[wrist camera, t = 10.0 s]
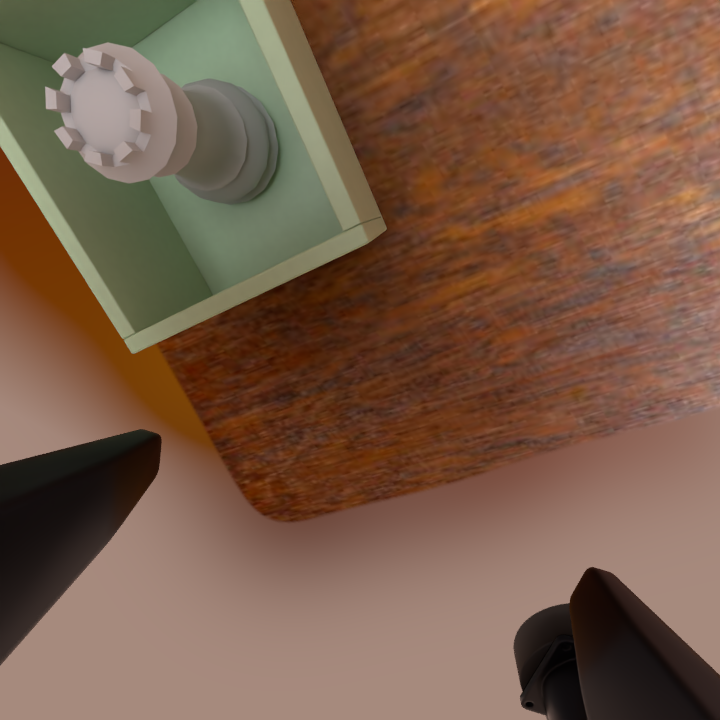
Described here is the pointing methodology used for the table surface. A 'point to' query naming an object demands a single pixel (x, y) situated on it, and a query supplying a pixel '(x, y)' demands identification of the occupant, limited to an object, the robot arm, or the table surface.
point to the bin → (165, 194)
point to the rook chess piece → (163, 125)
